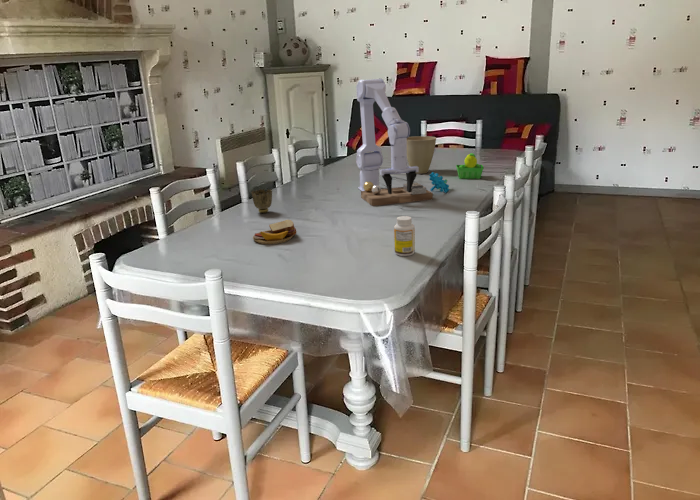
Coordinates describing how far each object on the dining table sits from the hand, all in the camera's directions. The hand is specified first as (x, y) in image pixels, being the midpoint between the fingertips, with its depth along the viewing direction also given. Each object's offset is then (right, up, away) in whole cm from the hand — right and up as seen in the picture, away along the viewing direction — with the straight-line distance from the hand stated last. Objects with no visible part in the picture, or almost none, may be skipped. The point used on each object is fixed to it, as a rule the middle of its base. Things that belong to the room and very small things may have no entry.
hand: (399, 192), depth 210 cm
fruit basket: (+34, +10, +37) cm, 51 cm away
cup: (-50, -8, -6) cm, 51 cm away
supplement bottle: (-3, -23, -55) cm, 59 cm away
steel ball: (-9, +1, +3) cm, 9 cm away
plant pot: (+14, +15, +52) cm, 56 cm away
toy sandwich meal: (-42, -18, -36) cm, 58 cm away
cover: (+6, +1, +5) cm, 8 cm away
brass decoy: (-11, +3, +7) cm, 14 cm away
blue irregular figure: (+17, +2, +14) cm, 23 cm away
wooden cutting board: (-1, -2, +6) cm, 6 cm away
